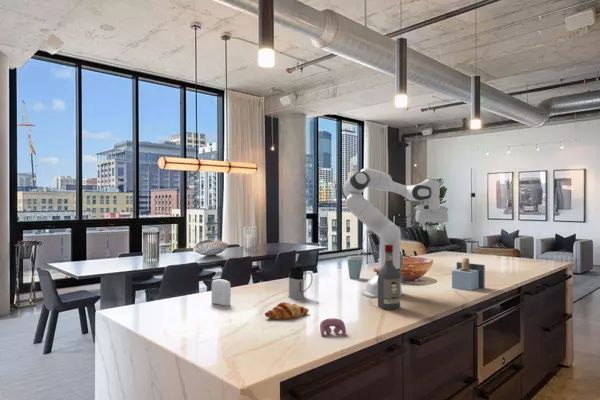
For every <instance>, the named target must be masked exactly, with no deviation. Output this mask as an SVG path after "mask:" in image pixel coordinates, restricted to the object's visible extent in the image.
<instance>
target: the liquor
mask: <svg viewBox="0 0 600 400" xmlns="http://www.w3.org/2000/svg"><path fill="white" fill-rule="evenodd" d="M392 252H393V245H385V265H384V266H383V267H382V268H381V270H380V271H379V272H378V297H377V306H378V308H380V309H382V310H385V309H386V310H388V311H393V310H394V311H395V310H399V308H400V307H401V295H400V283H401V282H400V273H399V271H398V270H397V269H396V268H395V267H394V266H393V256H392ZM386 310H385V311H386Z"/></svg>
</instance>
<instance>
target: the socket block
mask: <svg viewBox="0 0 600 400" xmlns="http://www.w3.org/2000/svg"><path fill="white" fill-rule="evenodd" d="M451 288H452V289H457V290H465V291H470V292H471V291H474V290H477V289H480V288H479V271H477V270H469V272H465V271H462V269H457V268H456V269H454V270H451Z"/></svg>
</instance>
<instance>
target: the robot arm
mask: <svg viewBox="0 0 600 400" xmlns="http://www.w3.org/2000/svg"><path fill="white" fill-rule="evenodd" d="M366 188H370V189H372V190H375V191H380V192H381V191H382V192H391V193H394V194H397V195H399V196H401V197H403V198H404V199H405V200H406V201H409V202H422V201H423V203H421V204H418V205H417V206H416V212H415V218H414V219H415V222H417V223H421V224H420V225H421V226H422V230H423V231H427V230H428V226H426V223H438V226H437V228H436V230H439V231H440V230H441V229H442V228H441V227H442V226H443V223H444V222H445V223H447V222H448V221H449V214H448V208H447V207H446V206H441V203H440V200H441V199H440V194H441V193H440V192H441V189H440V182H439V181H438V180H437V179H434V178H425V180H423V181H422V182H420V183H416V184H407V185H405V184H402V183H399V182H396V181H394V180H393V179H392V175H390V174H388V173H386V172H385V171H381V170H378V169H374V168H367V167H365V168H362V169H361V170H360V171H355V172H354V173H352V174H351V175H350V176H349V178H347V179H346V180H345V182H344V184H342V187H341V195H342V197H343V198H344V200H345V202H344V204H345V206H346V207H347V209H348V210H349V212H351V213H352V215H353V216H354V217H356V218H357V219H358V221H360V222H362V223H363V224H364V226H366V227H367V228H368V229H370V230H371V231H372V232H373V233H374V234H375V235H376V236H378V237H379V252H378V253H379V258H378V259H379V261H378V262H379V263H378V265H379V267H378V268H376V267H374V268H373V269H372V270H373V272H375V273H376V274H375V275H374V276H372V278H370V279H369V280H368V281H366V285H365V290H364V289H362V290H361V295H363V296H366V297H369V298H378V272H379V271H380V270H381V268H382V267H383V266H384V265H385V245H393V252H392V256H393V266H394V267H395V268H396V269H397V270H398V271H399V273H400V276H401V270H400V254H401V253H400V252H401V238H402V237H401V236H402V235H401V234H402V233H401V229H400V227H398V226H397V224H395V223H394V222H393V221H391V220H390V219H389V218H388V217H387V216H386V215H385V214H383V212H381V211H380V210H379V209H378V208H377V207H376V206H374V205H373V204H372V202H370V201H368V200H367V199H366V198H365V197H364V195H363V194H362V193H363V192H364V191H365V189H366ZM401 283H402V282H400V296H402V295H403V294H404V293H403V290H402V284H401Z"/></svg>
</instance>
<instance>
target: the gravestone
mask: <svg viewBox="0 0 600 400" xmlns="http://www.w3.org/2000/svg"><path fill="white" fill-rule="evenodd" d="M211 281H212V282H211V300H210V301H211V304H213V305H220V306H225V307H227V306H230V305H231V297H232V296H231V295H232V294H231V291H232V289H231V288H232V287H231V286H232V285H231V282H230V281H229V280H226V279H223V278H222V279H221V278H217V279H213V280H211Z"/></svg>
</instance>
